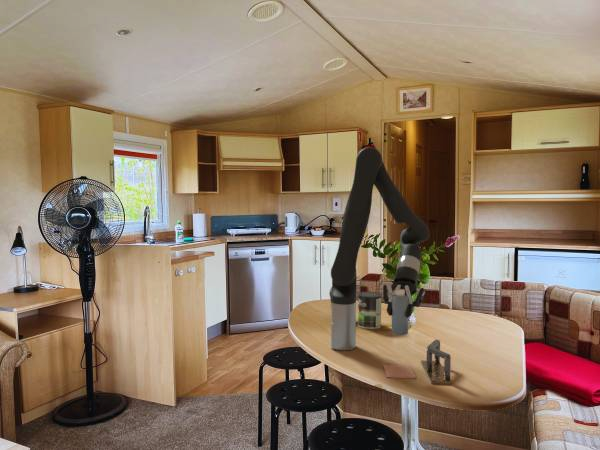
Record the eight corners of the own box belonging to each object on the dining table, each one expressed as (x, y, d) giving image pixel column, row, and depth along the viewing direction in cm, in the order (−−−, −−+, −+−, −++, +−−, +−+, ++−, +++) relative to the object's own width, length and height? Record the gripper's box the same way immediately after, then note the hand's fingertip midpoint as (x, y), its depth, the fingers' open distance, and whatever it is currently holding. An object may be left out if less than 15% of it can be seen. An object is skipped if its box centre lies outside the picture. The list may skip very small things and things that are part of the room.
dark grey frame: (431, 384, 142) (432, 356, 141) (421, 363, 159) (421, 338, 158) (451, 384, 142) (452, 356, 141) (438, 363, 159) (439, 338, 158)
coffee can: (365, 330, 196) (365, 297, 195) (353, 324, 206) (353, 292, 205) (386, 327, 201) (386, 295, 200) (373, 321, 210) (373, 290, 209)
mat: (387, 377, 147) (387, 376, 147) (383, 365, 157) (383, 364, 157) (415, 378, 146) (416, 377, 146) (410, 366, 156) (410, 365, 156)
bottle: (392, 334, 148) (392, 291, 147) (390, 330, 153) (390, 288, 152) (409, 335, 148) (409, 291, 147) (406, 330, 153) (406, 288, 152)
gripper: (384, 264, 159) (374, 307, 149) (427, 266, 153) (419, 311, 143) (388, 276, 164) (379, 319, 154) (430, 279, 158) (423, 323, 148)
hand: (398, 315), depth 149 cm, fingers closed on bottle, 5 cm apart
